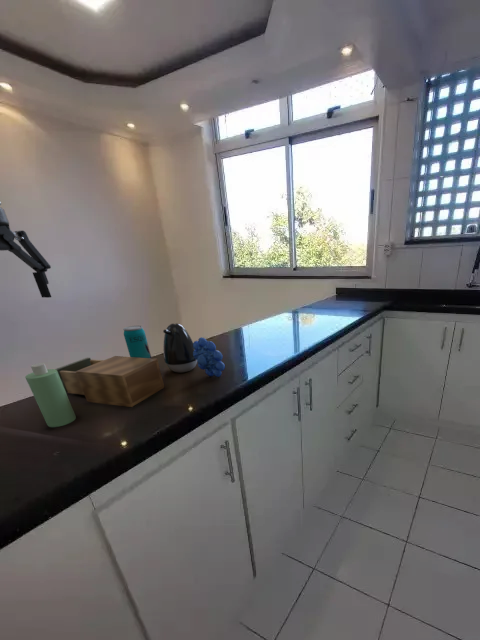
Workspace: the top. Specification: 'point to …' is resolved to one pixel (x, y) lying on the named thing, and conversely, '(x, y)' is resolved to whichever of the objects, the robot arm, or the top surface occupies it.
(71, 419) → the soap bottle
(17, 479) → the top surface
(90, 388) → the cabinet
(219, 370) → the grapes
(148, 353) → the beverage can
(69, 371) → the drawer
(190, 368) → the pump dispenser
